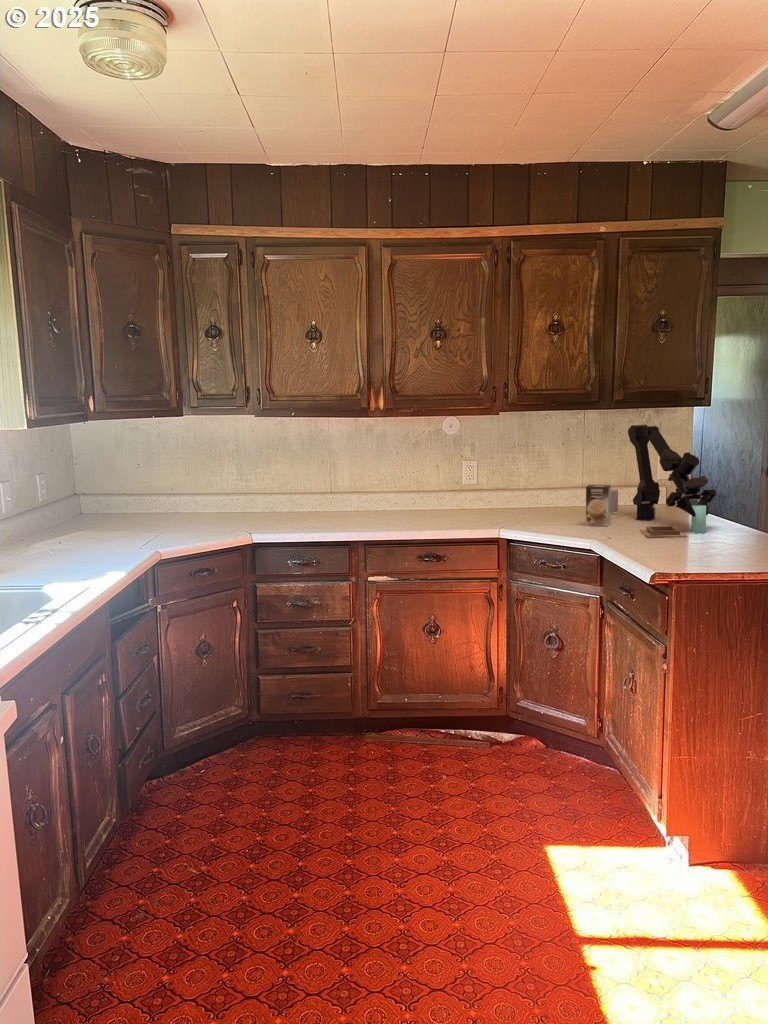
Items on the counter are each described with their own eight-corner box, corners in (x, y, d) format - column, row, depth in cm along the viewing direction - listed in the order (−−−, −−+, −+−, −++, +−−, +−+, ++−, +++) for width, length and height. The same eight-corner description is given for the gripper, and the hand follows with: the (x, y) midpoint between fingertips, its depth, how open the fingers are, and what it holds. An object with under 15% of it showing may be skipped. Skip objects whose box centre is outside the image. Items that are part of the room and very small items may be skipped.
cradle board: (639, 531, 293) (639, 525, 293) (678, 530, 291) (678, 525, 291) (646, 538, 280) (646, 532, 279) (687, 537, 278) (687, 531, 277)
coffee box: (585, 526, 310) (584, 486, 307) (587, 523, 315) (587, 484, 313) (608, 526, 306) (608, 486, 303) (611, 524, 311) (611, 484, 309)
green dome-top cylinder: (690, 533, 285) (690, 506, 284) (692, 530, 290) (693, 504, 288) (704, 533, 283) (704, 507, 281) (706, 531, 287) (707, 505, 285)
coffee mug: (611, 514, 334) (611, 491, 332) (590, 512, 341) (590, 490, 339) (625, 510, 343) (625, 488, 342) (605, 508, 350) (605, 487, 349)
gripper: (670, 470, 284) (689, 504, 275) (714, 467, 289) (733, 500, 280) (658, 489, 293) (675, 522, 284) (700, 486, 297) (718, 518, 288)
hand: (701, 515), depth 284 cm, fingers closed on green dome-top cylinder, 5 cm apart
